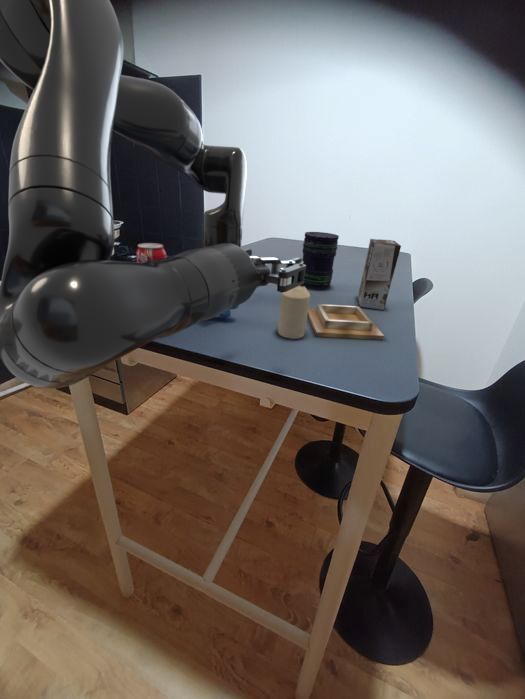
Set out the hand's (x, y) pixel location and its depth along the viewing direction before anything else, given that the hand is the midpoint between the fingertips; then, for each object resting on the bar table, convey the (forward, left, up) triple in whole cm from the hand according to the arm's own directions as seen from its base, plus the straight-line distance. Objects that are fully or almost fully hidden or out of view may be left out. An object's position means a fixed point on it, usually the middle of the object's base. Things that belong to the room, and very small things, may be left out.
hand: (273, 260), depth 48 cm
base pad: (+18, +16, -17) cm, 29 cm away
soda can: (-27, +30, -17) cm, 44 cm away
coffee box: (+30, +32, -17) cm, 47 cm away
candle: (+6, +10, -17) cm, 20 cm away
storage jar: (+17, +46, -17) cm, 51 cm away
